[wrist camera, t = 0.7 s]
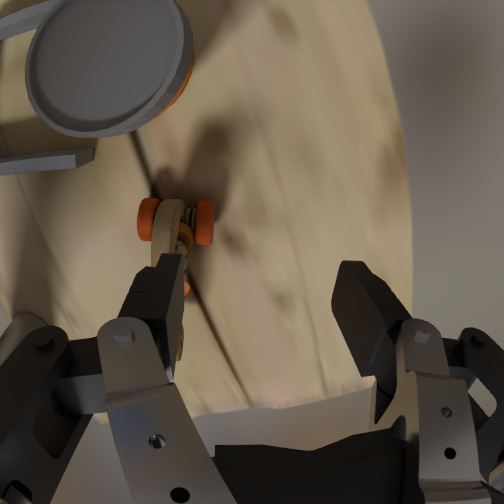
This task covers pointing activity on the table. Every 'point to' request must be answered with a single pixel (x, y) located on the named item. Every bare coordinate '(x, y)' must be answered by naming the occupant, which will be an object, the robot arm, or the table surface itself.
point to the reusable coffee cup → (108, 64)
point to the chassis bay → (49, 159)
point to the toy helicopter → (175, 232)
